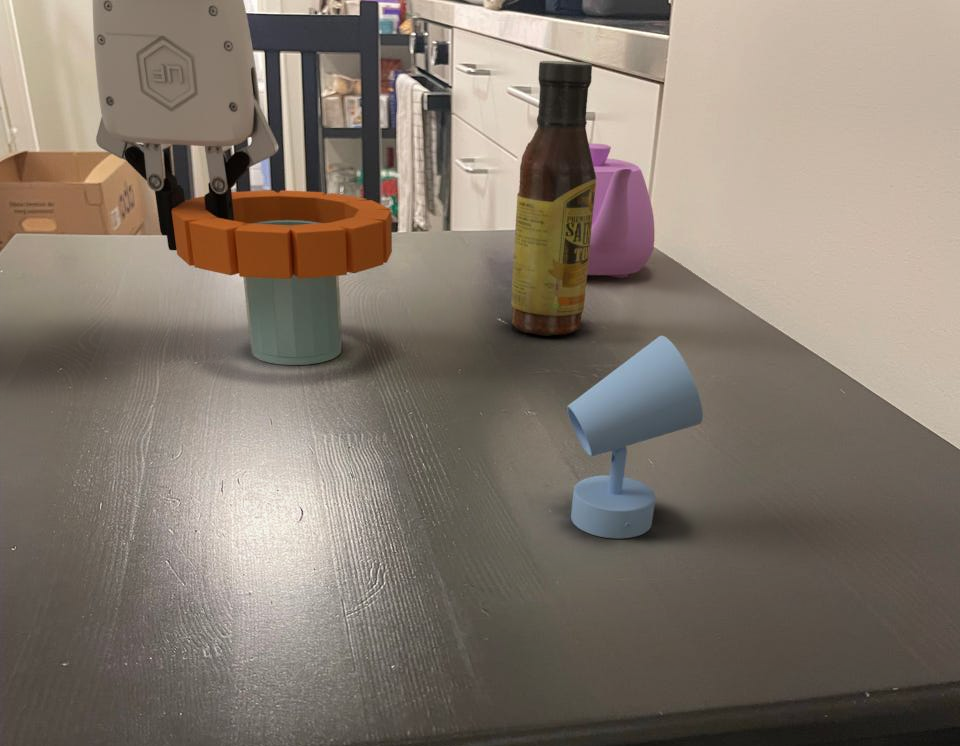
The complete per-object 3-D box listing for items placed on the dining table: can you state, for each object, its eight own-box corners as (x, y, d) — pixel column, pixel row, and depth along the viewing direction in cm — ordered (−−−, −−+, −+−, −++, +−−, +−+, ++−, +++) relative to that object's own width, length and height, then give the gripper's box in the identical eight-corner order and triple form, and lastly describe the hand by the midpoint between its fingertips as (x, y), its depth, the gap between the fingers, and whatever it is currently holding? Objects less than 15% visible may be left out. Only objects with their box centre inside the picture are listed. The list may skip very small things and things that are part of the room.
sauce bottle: (570, 343, 80) (594, 66, 69) (499, 333, 82) (511, 61, 71) (590, 323, 85) (615, 61, 74) (523, 313, 87) (538, 57, 76)
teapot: (507, 249, 108) (512, 131, 101) (621, 249, 110) (634, 133, 104) (548, 297, 92) (557, 161, 85) (681, 296, 94) (700, 162, 87)
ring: (152, 272, 66) (145, 225, 64) (210, 226, 79) (206, 186, 77) (377, 283, 66) (376, 236, 64) (399, 235, 79) (399, 195, 77)
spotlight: (658, 494, 57) (546, 504, 55) (684, 322, 51) (560, 327, 49) (694, 533, 53) (574, 544, 51) (726, 351, 47) (593, 357, 46)
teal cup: (242, 363, 73) (229, 237, 68) (262, 335, 79) (251, 218, 74) (334, 367, 73) (327, 241, 68) (347, 339, 79) (342, 222, 74)
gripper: (14, -65, 59) (73, 253, 69) (278, -52, 59) (298, 264, 69) (62, -60, 65) (109, 232, 75) (301, -48, 65) (316, 242, 75)
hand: (199, 245), depth 72 cm, fingers closed on ring, 2 cm apart
